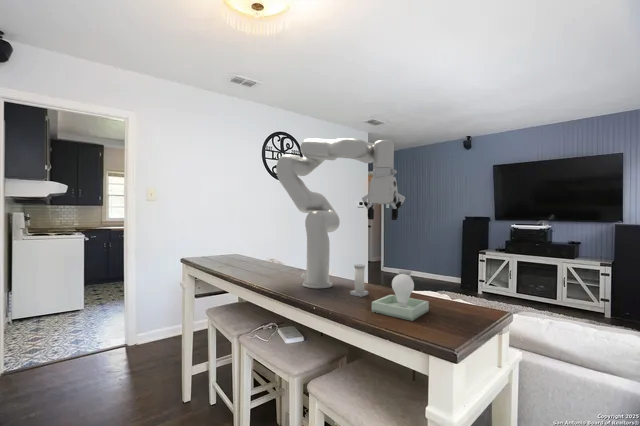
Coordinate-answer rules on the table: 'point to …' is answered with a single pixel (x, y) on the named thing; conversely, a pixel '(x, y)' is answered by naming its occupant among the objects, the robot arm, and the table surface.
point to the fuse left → (359, 281)
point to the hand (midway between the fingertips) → (382, 219)
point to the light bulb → (402, 288)
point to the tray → (391, 309)
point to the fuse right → (405, 273)
